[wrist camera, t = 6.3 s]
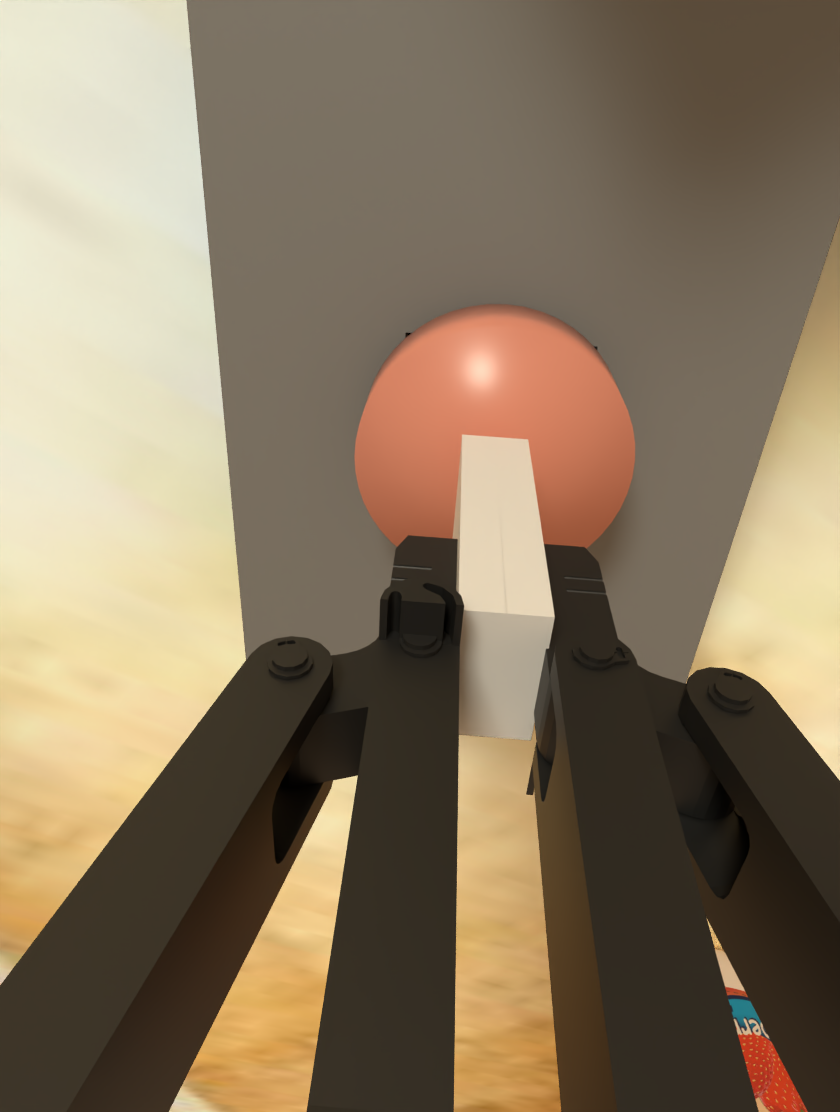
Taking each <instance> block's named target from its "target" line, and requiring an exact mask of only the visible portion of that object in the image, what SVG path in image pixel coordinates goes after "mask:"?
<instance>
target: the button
mask: <svg viewBox="0 0 840 1112" xmlns="http://www.w3.org/2000/svg"><path fill="white" fill-rule="evenodd" d="M462 435H476V436H489V437H503V438H516V439H528V442H529V449H530V456H531V462H532V469H533V476H534V482H535V489H536V495H537V502H538V509H539V515H540V522H541V529H542V535H543V542H544V544H552V545H565V546H579V547H585V548H588V547H589V546H590V545H591V544H592V543H593V542H594V541H595V540H596V539H598V538H599V537H600V536H601V535H602V533H603V532H604V531H605V530H606V529H607V527H608V526H609V525H610V524H611V523H612V521H613V519H614V518H615V516H616V515H617V513H618V512H619V510H620V508H621V506H622V504H623V502H624V500H625V498H626V496H627V493H628V490H629V487H630V484H631V480H632V477H633V470H634V464H635V439H634V432H633V426H632V423H631V419H630V416H629V413H628V410H627V407H626V405H625V403H624V401H623V398H622V396H621V394H620V391H619V389H618V387H617V385H616V382H615V380H614V378H613V376H612V374H611V372H610V369H609V367H608V365H607V364H606V362H605V361H604V359H603V358H602V356H601V355H600V353H599V352H598V351H597V350H596V349H595V348H594V346H593V345H592V344H591V343H590V342H589V341H588V340H587V339H586V338H585V337H584V336H583V335H581V334H580V333H579V332H578V331H577V330H575V329H574V328H573V327H571V326H569V325H568V324H566V323H564V322H563V321H561V320H560V319H558V318H555V317H553V316H551V315H549V314H546V313H544V312H541V311H538V310H534V309H531V308H527V307H523V306H515V305H508V304H485V305H477V306H470V307H466V308H462V309H458V310H454V311H451V312H449V313H446V314H444V315H441V316H439V317H436V318H434V319H433V320H431V321H429V322H427V323H426V324H424V325H422V326H420V327H419V328H418V329H416V330H415V331H414V332H412V333H411V334H410V335H408V336H407V337H406V338H405V339H404V340H403V341H402V342H401V343H400V344H399V345H398V346H397V347H396V348H395V349H394V350H393V351H392V352H391V354H390V355H389V356H388V358H387V359H386V360H385V362H384V363H383V365H382V366H381V368H380V370H379V372H378V374H377V375H376V377H375V379H374V382H373V385H372V387H371V390H370V392H369V395H368V398H367V401H366V405H365V408H364V411H363V414H362V417H361V420H360V424H359V428H358V432H357V437H356V443H355V456H354V457H355V473H356V477H357V482H358V487H359V490H360V493H361V496H362V499H363V502H364V504H365V506H366V508H367V510H368V512H369V514H370V516H371V517H372V519H373V520H374V522H375V523H376V525H377V526H378V527H379V529H380V530H381V531H382V532H383V534H384V535H385V536H386V537H387V538H388V539H389V540H390V541H391V542H392V543H393V544H394V545H395V546H396V547H398V545H399V544H400V543H401V542H402V541H403V540H404V539H405V538H406V537H407V536H408V535H412V536H425V537H438V538H451V539H453V528H454V517H455V506H456V496H457V485H458V474H459V463H460V453H461V442H462Z"/></svg>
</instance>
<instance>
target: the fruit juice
mask: <svg viewBox="0 0 840 1112" xmlns="http://www.w3.org/2000/svg"><path fill="white" fill-rule="evenodd" d="M715 952H716V955H717V959H718V963H719V966H720V970H721V974H722V977H723V981H724V985H725V989H726V992H727V996H728V1000H729V1003H730V1007H731V1011H732V1014H733V1018H734V1022H735V1025H736V1029H737V1033H738V1036H739V1040H740V1044H741V1048H742V1051H743V1055H744V1059H745V1062H746V1066H747V1070H748V1073H749V1077H750V1081H751V1084H752V1088H753V1092H754V1096H755V1099H756V1103H757V1107H758V1110H759V1112H807V1109H806V1107H805V1105H804V1104H803V1102H802V1100H801V1098H800V1096H799V1094H798V1092H797V1090H796V1088H795V1086H794V1084H793V1082H792V1080H791V1079H790V1077H789V1075H788V1073H787V1071H786V1069H785V1067H784V1065H783V1063H782V1061H781V1059H780V1057H779V1056H778V1054H777V1052H776V1050H775V1048H774V1046H773V1044H772V1042H771V1040H770V1038H769V1036H768V1034H767V1032H766V1031H765V1029H764V1027H763V1025H762V1023H761V1021H760V1019H759V1017H758V1015H757V1013H756V1011H755V1009H754V1007H753V1006H752V1004H751V1002H750V1000H749V998H748V996H747V994H746V992H745V990H744V988H743V986H742V984H741V982H740V981H739V979H738V977H737V975H736V973H735V971H734V969H733V967H732V965H731V963H730V961H729V959H728V957H727V956H726V954H725V952H724V951H722V950H718V949H715Z"/></svg>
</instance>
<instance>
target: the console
mask: <svg viewBox="0 0 840 1112" xmlns="http://www.w3.org/2000/svg"><path fill="white" fill-rule="evenodd" d="M187 10H188V21H189V32H190V44H191V55H192V66H193V77H194V88H195V99H196V110H197V121H198V132H199V143H200V154H201V165H202V177H203V188H204V199H205V210H206V221H207V232H208V243H209V254H210V265H211V276H212V287H213V298H214V309H215V321H216V332H217V343H218V354H219V365H220V376H221V387H222V398H223V409H224V420H225V431H226V442H227V453H228V465H229V476H230V487H231V498H232V509H233V520H234V531H235V542H236V553H237V564H238V575H239V586H240V598H241V609H242V620H243V631H244V642H245V653H246V660H247V659H248V657H249V656H250V655H251V653H252V652H254V651H255V650H256V649H257V648H258V647H259V646H260V645H262V644H264V643H266V642H269V641H271V640H273V639H276V638H282V637H289V636H295V637H305V638H309V639H311V640H314V641H316V642H319V643H321V644H322V645H323V646H324V647H325V648H326V649H327V650H328V651H329V652H330V655H338V654H344V653H349V652H353V651H357V650H359V649H362V648H364V647H366V646H368V645H370V644H371V643H372V642H374V641H375V640H376V639H377V638H378V637H379V617H380V598H381V596H382V594H383V592H384V590H385V589H387V588H388V587H389V586H390V583H391V576H392V570H393V563H394V556H395V550H396V548H397V547H396V546H395V545H394V544H393V543H392V542H391V541H390V540H389V539H388V538H387V537H386V536H385V535H384V534H383V532H382V531H381V530H380V529H379V527H378V526H377V525H376V523H375V522H374V520H373V519H372V517H371V516H370V514H369V512H368V510H367V508H366V506H365V504H364V502H363V499H362V496H361V493H360V490H359V487H358V482H357V477H356V473H355V457H354V456H355V443H356V437H357V432H358V428H359V424H360V420H361V417H362V414H363V411H364V408H365V405H366V401H367V398H368V395H369V392H370V390H371V387H372V385H373V382H374V379H375V377H376V375H377V374H378V372H379V370H380V368H381V366H382V365H383V363H384V362H385V360H386V359H387V358H388V356H389V355H390V354H391V352H392V351H393V350H394V349H395V348H396V347H397V346H398V345H399V344H400V343H401V342H402V341H403V340H404V339H405V338H406V337H407V336H408V333H412V332H414V331H415V330H416V329H418V328H419V327H420V326H422V325H424V324H426V323H427V322H429V321H431V320H433V319H434V318H436V317H439V316H441V315H444V314H446V313H449V312H451V311H454V310H458V309H462V308H466V307H470V306H477V305H485V304H508V305H515V306H523V307H527V308H531V309H534V310H538V311H541V312H544V313H546V314H549V315H551V316H553V317H555V318H558V319H560V320H561V321H563V322H564V323H566V324H568V325H569V326H571V327H573V328H574V329H575V330H577V331H578V332H579V333H580V334H581V335H583V336H584V337H585V338H586V339H587V340H588V341H589V342H590V343H591V344H592V345H593V346H594V348H595V349H596V350H597V351H598V352H599V353H600V355H601V356H602V358H603V359H604V361H605V362H606V364H607V365H608V367H609V369H610V372H611V374H612V376H613V378H614V380H615V382H616V385H617V387H618V389H619V391H620V394H621V396H622V398H623V401H624V403H625V405H626V407H627V410H628V413H629V416H630V419H631V423H632V426H633V432H634V439H635V464H634V470H633V477H632V480H631V484H630V487H629V490H628V493H627V496H626V498H625V500H624V502H623V504H622V506H621V508H620V510H619V512H618V513H617V515H616V516H615V518H614V519H613V521H612V523H611V524H610V525H609V526H608V527H607V529H606V530H605V531H604V532H603V533H602V535H601V536H600V537H599V538H598V539H596V540H595V541H594V542H593V543H592V544H591V545H590V546H589V547H588V548H586V549H587V550H588V551H589V552H590V553H591V554H592V556H593V557H594V558H595V559H596V560H597V561H598V562H599V566H600V569H601V573H602V577H603V582H604V585H605V589H606V595H607V597H608V601H609V605H610V609H611V613H612V617H613V621H614V625H615V629H616V633H617V637H618V639H619V640H620V641H621V642H623V643H624V644H625V645H626V646H627V647H629V648H630V649H631V651H632V653H633V654H634V656H635V658H636V660H637V664H638V666H640V667H642V668H644V669H645V670H647V671H649V672H651V673H654V674H657V675H659V676H662V677H665V678H669V679H672V680H675V681H679V682H682V683H685V684H686V681H687V678H688V675H689V672H690V669H691V666H692V663H693V660H694V657H695V653H696V650H697V647H698V644H699V641H700V638H701V635H702V632H703V629H704V626H705V623H706V620H707V617H708V614H709V611H710V608H711V605H712V602H713V599H714V596H715V593H716V590H717V587H718V584H719V581H720V578H721V575H722V572H723V569H724V566H725V563H726V560H727V557H728V554H729V551H730V547H731V544H732V541H733V538H734V535H735V532H736V529H737V526H738V523H739V520H740V517H741V514H742V511H743V508H744V505H745V502H746V499H747V496H748V493H749V490H750V487H751V484H752V481H753V478H754V475H755V472H756V469H757V466H758V463H759V460H760V457H761V454H762V451H763V448H764V445H765V442H766V438H767V435H768V432H769V429H770V426H771V423H772V420H773V417H774V414H775V411H776V408H777V405H778V402H779V399H780V396H781V393H782V390H783V387H784V384H785V381H786V378H787V375H788V372H789V369H790V366H791V363H792V360H793V357H794V354H795V351H796V348H797V345H798V342H799V339H800V336H801V332H802V329H803V326H804V323H805V320H806V317H807V314H808V311H809V308H810V305H811V302H812V299H813V296H814V293H815V290H816V287H817V284H818V281H819V278H820V275H821V272H822V269H823V266H824V263H825V260H826V257H827V254H828V251H829V248H830V245H831V242H832V239H833V236H834V233H835V230H836V227H837V223H838V220H839V217H840V0H187Z"/></svg>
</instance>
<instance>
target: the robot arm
mask: <svg viewBox="0 0 840 1112" xmlns="http://www.w3.org/2000/svg"><path fill="white" fill-rule="evenodd" d="M534 722H535V730H536V740H537V742H536V747H535V752H534V757H533V762H532V767H531V772H530V777H529V782H528V788H527V793H526V795H533V792H534V790H535V802H536V814H537V826H538V838H539V850H540V862H541V874H542V885H543V897H544V909H545V921H546V933H547V945H548V957H549V969H550V981H551V993H552V1005H553V1017H554V1029H555V1040H556V1052H557V1064H558V1076H559V1088H560V1100H561V1112H759V1110H758V1107H757V1103H756V1099H755V1096H754V1092H753V1088H752V1084H751V1081H750V1077H749V1073H748V1070H747V1066H746V1062H745V1059H744V1055H743V1051H742V1048H741V1044H740V1040H739V1036H738V1033H737V1029H736V1025H735V1022H734V1018H733V1014H732V1011H731V1007H730V1003H729V1000H728V996H727V992H726V989H725V985H724V981H723V977H722V974H721V970H720V966H719V963H718V959H717V955H716V952H715V948H714V944H713V941H712V937H711V933H710V929H709V926H708V922H707V919H708V921H709V923H710V925H711V927H712V929H713V931H714V932H715V934H716V936H717V938H718V940H719V942H720V944H721V946H722V948H723V950H724V952H725V954H726V956H727V957H728V959H729V961H730V963H731V965H732V967H733V969H734V971H735V973H736V975H737V977H738V979H739V981H740V982H741V984H742V986H743V988H744V990H745V992H746V994H747V996H748V998H749V1000H750V1002H751V1004H752V1006H753V1007H754V1009H755V1011H756V1013H757V1015H758V1017H759V1019H760V1021H761V1023H762V1025H763V1027H764V1029H765V1031H766V1032H767V1034H768V1036H769V1038H770V1040H771V1042H772V1044H773V1046H774V1048H775V1050H776V1052H777V1054H778V1056H779V1057H780V1059H781V1061H782V1063H783V1065H784V1067H785V1069H786V1071H787V1073H788V1075H789V1077H790V1079H791V1080H792V1082H793V1084H794V1086H795V1088H796V1090H797V1092H798V1094H799V1096H800V1098H801V1100H802V1102H803V1104H804V1105H805V1107H806V1109H807V1111H808V1112H840V781H839V779H838V778H837V777H836V776H835V774H834V773H833V772H832V771H831V769H830V768H829V767H828V766H827V764H826V763H825V762H824V761H823V759H822V758H821V757H820V756H819V754H818V753H817V752H816V751H815V749H814V748H813V747H812V745H811V744H810V743H809V742H808V740H807V739H806V738H805V737H804V735H803V734H802V733H801V732H800V730H799V729H798V728H797V727H796V725H795V724H794V723H793V722H792V720H791V719H790V718H789V717H788V715H787V714H786V713H785V712H784V710H783V709H782V708H781V707H780V705H779V704H778V703H777V702H776V700H775V699H774V698H773V696H772V695H771V694H770V693H769V692H768V691H767V690H766V689H765V688H764V687H763V686H762V685H761V684H760V683H759V682H757V681H756V680H754V679H752V678H750V677H748V676H746V675H745V674H743V673H740V672H737V671H733V670H730V669H726V668H712V667H709V668H705V669H701V670H697V671H696V672H695V673H693V674H692V675H691V676H690V677H689V678H688V681H687V684H685V683H682V682H679V681H675V680H672V679H669V678H665V677H662V676H659V675H657V674H654V673H651V672H649V671H647V670H645V669H644V668H642V667H640V666H638V664H637V660H636V658H635V656H634V654H633V653H632V651H631V649H630V648H629V647H627V646H626V645H625V644H624V643H623V642H621V641H620V640H619V639H618V637H617V633H616V629H615V625H614V621H613V617H612V613H611V609H610V605H609V601H608V597H607V595H606V589H605V585H604V582H603V577H602V573H601V569H600V566H599V562H598V561H597V560H596V559H595V558H594V557H593V556H592V554H591V553H590V552H589V551H588V550H587V549H586V548H585V547H579V546H565V545H552V544H544V542H543V535H542V529H541V522H540V515H539V509H538V502H537V495H536V489H535V482H534V476H533V469H532V462H531V456H530V449H529V442H528V439H516V438H503V437H489V436H476V435H462V442H461V453H460V463H459V474H458V485H457V496H456V506H455V517H454V528H453V539H451V538H438V537H425V536H412V535H408V536H407V537H406V538H405V539H404V540H403V541H402V542H401V543H400V544H399V545H398V547H397V548H396V550H395V556H394V563H393V570H392V576H391V583H390V586H389V587H388V588H387V589H385V590H384V592H383V594H382V596H381V598H380V617H379V637H378V638H377V639H376V640H375V641H374V642H372V643H371V644H370V645H368V646H366V647H364V648H362V649H359V650H357V651H353V652H349V653H344V654H338V655H330V652H329V651H328V650H327V649H326V648H325V647H324V646H323V645H322V644H321V643H319V642H316V641H314V640H311V639H309V638H305V637H295V636H289V637H282V638H276V639H273V640H271V641H269V642H266V643H264V644H262V645H260V646H259V647H258V648H257V649H256V650H255V651H254V652H252V653H251V655H250V656H249V657H248V659H247V660H246V661H245V662H244V664H243V665H242V666H241V668H240V669H239V670H238V672H237V673H236V674H235V676H234V677H233V678H232V680H231V681H230V682H229V684H228V685H227V686H226V688H225V689H224V690H223V692H222V693H221V694H220V696H219V697H218V698H217V700H216V701H215V702H214V704H213V705H212V706H211V707H210V709H209V710H208V711H207V713H206V714H205V715H204V717H203V718H202V719H201V721H200V722H199V723H198V725H197V726H196V727H195V729H194V730H193V731H192V733H191V734H190V735H189V737H188V738H187V739H186V741H185V742H184V743H183V745H182V746H181V747H180V748H179V750H178V751H177V752H176V754H175V755H174V756H173V758H172V759H171V760H170V762H169V763H168V764H167V766H166V767H165V768H164V770H163V771H162V772H161V774H160V775H159V776H158V778H157V779H156V780H155V782H154V783H153V784H152V786H151V787H150V788H149V790H148V791H147V792H146V793H145V795H144V796H143V797H142V799H141V800H140V801H139V803H138V804H137V805H136V807H135V808H134V809H133V811H132V812H131V813H130V815H129V816H128V817H127V819H126V820H125V821H124V823H123V824H122V825H121V827H120V828H119V829H118V831H117V832H116V833H115V834H114V836H113V837H112V838H111V840H110V841H109V842H108V844H107V845H106V846H105V848H104V849H103V850H102V852H101V853H100V854H99V856H98V857H97V858H96V860H95V861H94V862H93V864H92V865H91V866H90V868H89V869H88V870H87V872H86V873H85V874H84V876H83V877H82V878H81V879H80V881H79V882H78V883H77V885H76V886H75V887H74V889H73V890H72V891H71V893H70V894H69V895H68V897H67V898H66V899H65V901H64V902H63V903H62V905H61V906H60V907H59V909H58V910H57V911H56V913H55V914H54V915H53V917H52V918H51V919H50V920H49V922H48V923H47V924H46V926H45V927H44V928H43V930H42V931H41V932H40V934H39V935H38V936H37V938H36V939H35V940H34V942H33V943H32V944H31V946H30V947H29V948H28V950H27V951H26V952H25V954H24V955H23V956H22V958H21V959H20V960H19V962H18V963H17V964H16V965H15V967H14V968H13V969H12V971H11V972H10V973H9V975H8V976H7V977H6V979H5V980H4V981H3V983H2V984H1V985H0V1112H169V1110H170V1108H171V1106H172V1104H173V1102H174V1100H175V1098H176V1096H177V1094H178V1092H179V1090H180V1088H181V1086H182V1084H183V1082H184V1080H185V1078H186V1076H187V1074H188V1072H189V1070H190V1068H191V1066H192V1064H193V1062H194V1060H195V1058H196V1056H197V1054H198V1052H199V1050H200V1048H201V1046H202V1044H203V1042H204V1040H205V1038H206V1036H207V1034H208V1032H209V1030H210V1028H211V1026H212V1024H213V1022H214V1020H215V1018H216V1016H217V1014H218V1012H219V1010H220V1008H221V1006H222V1004H223V1002H224V1000H225V998H226V996H227V994H228V992H229V990H230V988H231V986H232V984H233V982H234V980H235V978H236V976H237V974H238V972H239V970H240V968H241V966H242V964H243V962H244V960H245V958H246V957H247V955H248V953H249V951H250V949H251V947H252V945H253V943H254V941H255V939H256V937H257V935H258V933H259V931H260V929H261V927H262V925H263V923H264V921H265V919H266V917H267V915H268V913H269V911H270V909H271V907H272V905H273V903H274V901H275V899H276V897H277V895H278V893H279V891H280V889H281V887H282V885H283V883H284V881H285V879H286V877H287V875H288V873H289V871H290V869H291V867H292V865H293V863H294V861H295V859H296V857H297V855H298V853H299V851H300V849H301V847H302V845H303V843H304V841H305V839H306V837H307V835H308V833H309V831H310V829H311V827H312V825H313V823H314V821H315V819H316V817H317V815H318V813H319V811H320V809H321V807H322V805H323V803H324V801H325V799H326V797H327V795H328V793H329V791H330V789H331V787H332V782H333V780H337V779H342V778H347V777H352V776H357V775H358V779H357V786H356V792H355V799H354V805H353V812H352V818H351V825H350V831H349V838H348V845H347V851H346V858H345V864H344V871H343V877H342V884H341V890H340V897H339V904H338V910H337V917H336V923H335V930H334V936H333V943H332V949H331V956H330V962H329V969H328V976H327V982H326V989H325V995H324V1002H323V1008H322V1015H321V1021H320V1028H319V1035H318V1041H317V1048H316V1054H315V1061H314V1067H313V1074H312V1080H311V1087H310V1094H309V1100H308V1106H307V1112H454V1041H455V967H456V893H457V819H458V745H459V735H469V736H481V737H494V738H506V739H519V740H531V738H532V733H533V727H534ZM706 917H707V918H706Z"/></svg>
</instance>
